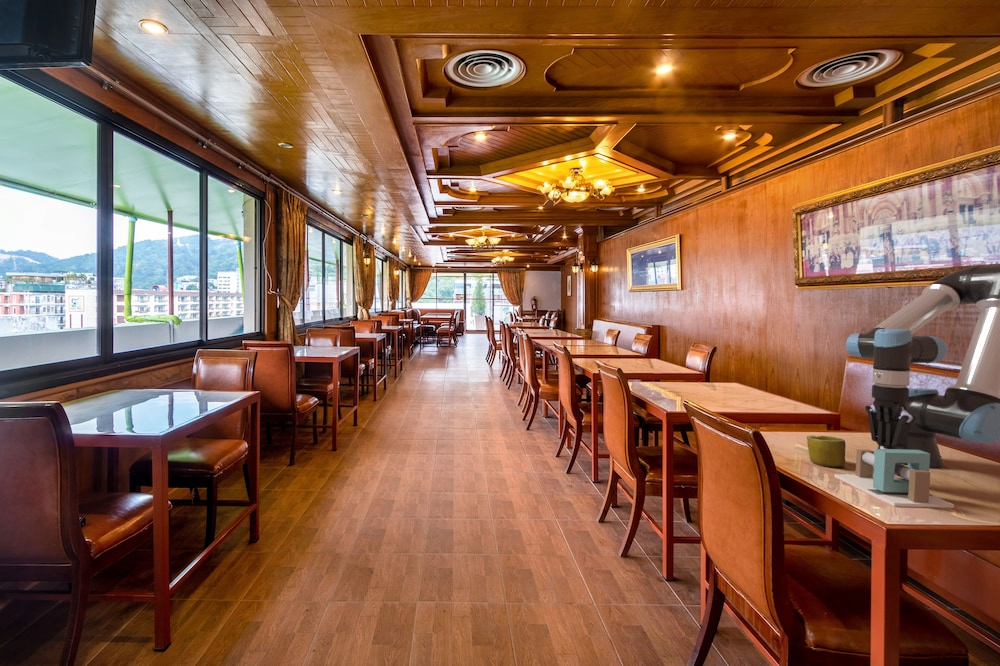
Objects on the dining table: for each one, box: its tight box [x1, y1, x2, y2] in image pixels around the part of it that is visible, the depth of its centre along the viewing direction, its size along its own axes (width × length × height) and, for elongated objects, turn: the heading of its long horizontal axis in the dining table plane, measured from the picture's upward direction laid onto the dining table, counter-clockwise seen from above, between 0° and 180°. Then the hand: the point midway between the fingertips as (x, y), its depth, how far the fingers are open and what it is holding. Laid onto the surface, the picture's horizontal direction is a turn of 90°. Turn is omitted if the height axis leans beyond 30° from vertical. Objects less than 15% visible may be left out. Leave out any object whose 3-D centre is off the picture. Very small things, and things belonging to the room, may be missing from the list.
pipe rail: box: [833, 449, 955, 509], centre depth 112 cm, size 19×14×8 cm
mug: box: [806, 434, 846, 468], centre depth 134 cm, size 12×10×10 cm
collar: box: [873, 448, 930, 493], centre depth 109 cm, size 3×11×10 cm, turn 89°
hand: (886, 470), depth 119 cm, fingers closed
